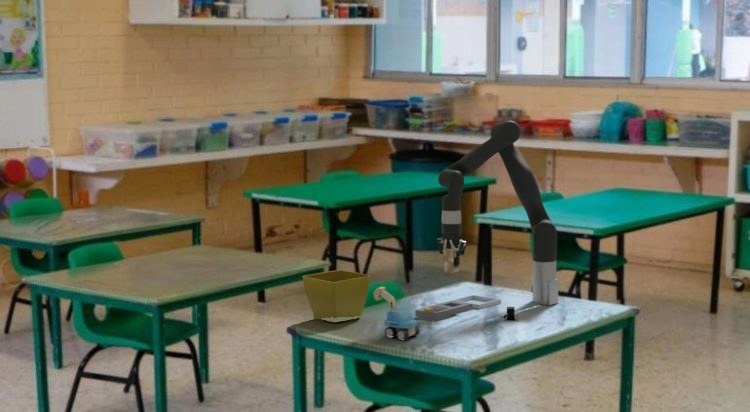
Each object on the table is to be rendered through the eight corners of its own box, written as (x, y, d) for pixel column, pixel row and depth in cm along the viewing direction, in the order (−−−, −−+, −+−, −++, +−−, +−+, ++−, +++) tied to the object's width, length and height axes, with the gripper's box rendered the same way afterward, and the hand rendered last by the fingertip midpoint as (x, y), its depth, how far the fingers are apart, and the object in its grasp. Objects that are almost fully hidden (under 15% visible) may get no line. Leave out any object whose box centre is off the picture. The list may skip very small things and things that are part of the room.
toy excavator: (385, 330, 457) (384, 284, 454) (421, 337, 446) (421, 289, 444) (370, 335, 450) (369, 288, 448) (406, 341, 440) (406, 293, 437)
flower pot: (302, 318, 479) (301, 275, 476) (341, 311, 491) (340, 269, 489) (333, 326, 464) (332, 282, 462) (372, 319, 476) (371, 275, 474)
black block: (520, 323, 467) (520, 311, 467) (500, 323, 468) (500, 311, 467) (519, 315, 480) (519, 304, 479) (500, 315, 480) (500, 304, 480)
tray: (501, 305, 497) (501, 299, 496) (479, 311, 487) (479, 304, 486) (473, 300, 506) (473, 294, 506) (451, 306, 496) (451, 300, 496)
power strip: (472, 311, 487) (471, 301, 486) (435, 321, 470) (435, 311, 470) (451, 308, 493) (451, 298, 493) (415, 317, 477) (415, 307, 477)
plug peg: (459, 271, 484) (458, 248, 482) (452, 272, 481) (452, 249, 480) (451, 270, 486) (450, 247, 485) (444, 271, 483) (444, 248, 482)
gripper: (472, 222, 479) (472, 266, 481) (443, 219, 489) (443, 262, 491) (459, 224, 473) (459, 269, 476) (430, 221, 483) (431, 265, 485)
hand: (451, 265), depth 483 cm, fingers closed on plug peg, 4 cm apart
